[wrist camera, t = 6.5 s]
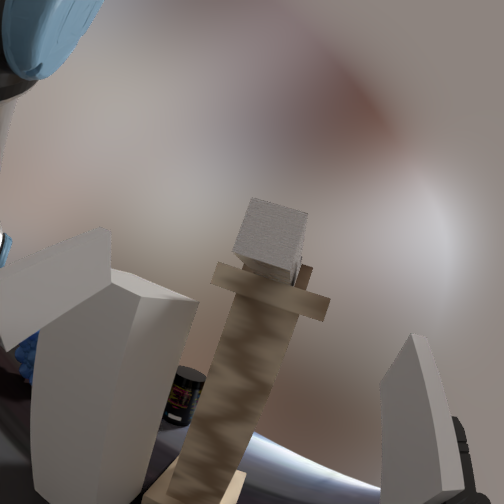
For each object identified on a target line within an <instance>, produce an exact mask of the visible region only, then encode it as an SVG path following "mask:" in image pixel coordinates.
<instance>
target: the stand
mask: <svg viewBox="0 0 504 504" xmlns="http://www.w3.org/2000/svg"><path fill="white" fill-rule="evenodd" d="M312 269H313V268H312V267H309V266H306V265H303V264H302V265H301V268H300V271H299V274H298V277H297V280H296V283H295V286H294V287H293V286H290V285H287V284H284V283H281V282H278V281H275V280H272V279H269V278H266V277H263V276H260V275H257V274H255V273H254V272H253V271H252V270H251V269H250V268H249V267H248V266H247V265H246V264H245V263H244V265H243V268H242V270H241V269H239V268H236V267H232V266H230V265H227V264H224V263H221V262H218V263H217V266H216V269H215V272H214V275H213V278H212V280H211V284H213V285H216V286H219V287H221V288H224V289H227V290H230V291H233V292H236V295H235V298H234V301H233V304H232V306H231V309H230V312H229V315H228V318H227V321H226V324H225V326H224V329H223V332H222V335H221V338H220V341H219V343H218V346H217V349H216V352H215V355H214V358H213V361H212V363H211V366H210V369H209V372H208V375H207V378H206V381H205V383H204V386H203V389H202V392H201V395H200V398H199V401H198V403H197V406H196V409H195V412H194V415H193V418H192V421H191V424H190V426H189V429H188V432H187V435H186V438H185V441H184V444H183V446H182V449H181V452H180V455H179V456H178V457H177V458H176V459H175V460H174V462H173V463H172V464H171V465H170V466H169V467H168V468H167V469H166V471H165V472H164V473H163V474H162V475H161V476H160V477H159V478H158V479H157V481H156V482H155V483H154V484H153V485H152V486H151V487H150V488H149V489H148V490H147V491H146V492H145V493H144V495H143V498H142V501H141V504H236V503H237V500H238V497H239V494H240V491H241V488H242V485H243V482H244V479H245V476H246V473H244V472H241V471H238V470H236V469H237V467H238V465H239V463H240V461H241V459H242V457H243V454H244V452H245V450H246V448H247V446H248V443H249V441H250V439H251V437H252V434H253V432H254V430H255V427H256V425H257V423H258V421H259V418H260V416H261V413H262V411H263V408H264V406H265V404H266V401H267V399H268V397H269V394H270V391H271V389H272V387H273V384H274V382H275V379H276V376H277V374H278V371H279V369H280V366H281V363H282V361H283V358H284V356H285V353H286V350H287V348H288V345H289V342H290V339H291V337H292V334H293V331H294V328H295V325H296V322H297V319H298V317H299V314H300V315H303V316H306V317H309V318H312V319H316V320H319V321H322V322H323V321H324V317H325V315H326V311H327V309H328V306H329V303H330V298H327V297H324V296H321V295H318V294H314V293H311V292H308V291H306V288H307V285H308V282H309V279H310V276H311V273H312Z"/></svg>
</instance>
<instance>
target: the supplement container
mask: <svg viewBox="0 0 504 504" xmlns="http://www.w3.org/2000/svg"><path fill="white" fill-rule="evenodd" d="M206 378H207V377H206V376H205V375H204V374H202V373H201V372H199V371H197V370H195V369H192V368H189V367H185V366H178V368H177V371H176V374H175V377H174V380H173V383H172V387H171V390H170V393H169V396H168V399H167V403H166V406H165V409H164V413H163V416H162V417H163V418H164V419H165V420H166V421H168V422H169V423H172V424H175V425H179V426H186V425H189V424H190V423H191V421H192V418H193V415H194V412H195V409H196V406H197V403H198V401H199V398H200V395H201V392H202V389H203V386H204V383H205V381H206Z"/></svg>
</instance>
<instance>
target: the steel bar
mask: <svg viewBox="0 0 504 504" xmlns="http://www.w3.org/2000/svg"><path fill="white" fill-rule="evenodd" d="M307 217H308V213H305V212H301V211H298V210H295V209H291V208H288V207H284V206H281V205H278V204H274V203H271V202H267V201H264V200H260V199H256V198H251V201H250V203H249V206H248V209H247V211H246V214H245V217H244V220H243V222H242V225H241V228H240V231H239V233H238V236H237V239H236V242H235V244H234V247H233V250H232V252H233V253H234V254H235V255H236V256H237V257H238V258H239V259H240V260H241V261H242V262H243V263H245V264H246V265H247V266H248V267H249V268H250V269H251V270H252V271H253V272H254V273H255V274H257V275H260V276H263V277H266V278H269V279H272V280H275V281H278V282H281V283H284V284H287V285H290V286H294V283H295V280H296V277H297V274H298V271H299V268H300V265H301V260H302V257H301V254H302V248H303V242H304V235H305V229H306V223H307Z"/></svg>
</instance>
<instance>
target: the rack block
mask: <svg viewBox="0 0 504 504" xmlns="http://www.w3.org/2000/svg"><path fill="white" fill-rule="evenodd" d="M198 305H199V301H196V300H194V299H191V298H189V297H186V296H184V295H181V294H179V293H176V292H174V291H172V290H169V289H167V288H164V287H162V286H160V285H157V284H155V283H153V282H150V281H148V280H145V279H143V278H141V277H138V276H136V275H134V274H132V273H128V272H124V271H119V270H116V269H112V268H111V284H110V285H108V286H107V287H105V288H104V289H102V290H100V291H99V292H97V293H96V294H94V295H92V296H91V297H89V298H88V299H86V300H84V301H83V302H81V303H80V304H78V305H76V306H75V307H73V308H72V309H70V310H69V311H67V312H66V313H64V314H62V315H61V316H59V317H58V318H56V319H55V320H53V321H52V322H50V323H49V324H47V325H46V326H44V327H43V328H41V329H40V331H39V336H38V342H37V349H36V356H35V363H34V372H33V382H32V395H31V421H30V435H31V459H32V472H33V481H34V489H35V491H37V492H38V493H39V494H40V495H41V496H42V497H43V498H44V499H45V500H47V501H48V502H49V503H50V504H129V503H130V502H132V501H133V500H134V498H135V497H136V496H137V495H138V494H139V493H140V492H141V489H142V486H143V482H144V478H145V475H146V471H147V467H148V464H149V460H150V457H151V453H152V450H153V446H154V443H155V439H156V436H157V433H158V429H159V426H160V422H161V419H162V416H163V413H164V409H165V406H166V403H167V399H168V396H169V393H170V390H171V387H172V383H173V380H174V377H175V374H176V371H177V368H178V365H179V361H180V359H181V355H182V352H183V349H184V346H185V343H186V340H187V337H188V334H189V331H190V328H191V325H192V322H193V320H194V317H195V314H196V311H197V308H198Z"/></svg>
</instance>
